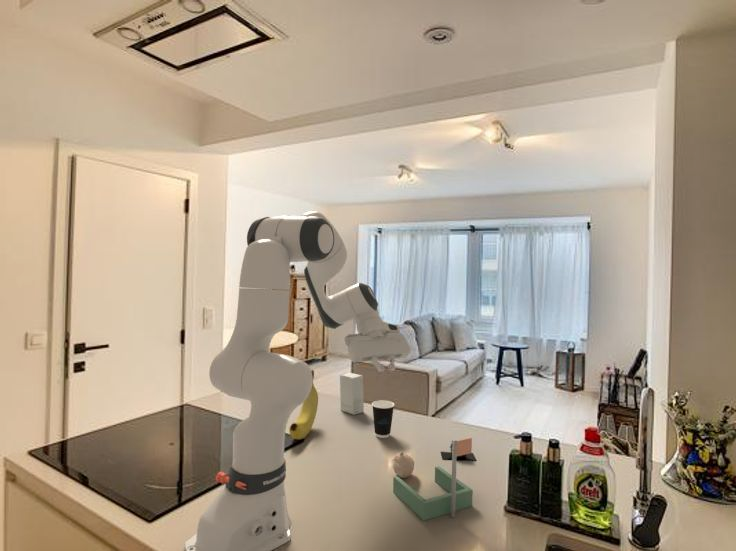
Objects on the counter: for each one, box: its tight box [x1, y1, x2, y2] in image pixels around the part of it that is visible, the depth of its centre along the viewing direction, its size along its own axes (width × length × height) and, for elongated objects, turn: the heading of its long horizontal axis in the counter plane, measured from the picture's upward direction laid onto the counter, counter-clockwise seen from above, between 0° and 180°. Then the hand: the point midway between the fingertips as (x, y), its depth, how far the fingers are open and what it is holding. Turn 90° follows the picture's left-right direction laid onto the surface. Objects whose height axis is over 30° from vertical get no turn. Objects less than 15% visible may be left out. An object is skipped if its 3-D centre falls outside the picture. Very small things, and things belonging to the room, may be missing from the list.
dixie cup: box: [371, 400, 395, 439], centre depth 149 cm, size 8×8×11 cm
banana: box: [289, 369, 319, 440], centre depth 148 cm, size 23×6×20 cm, turn 171°
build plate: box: [440, 440, 477, 462], centre depth 133 cm, size 13×8×5 cm, turn 87°
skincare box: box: [339, 372, 365, 416], centre depth 173 cm, size 8×6×15 cm
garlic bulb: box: [392, 451, 415, 479], centre depth 120 cm, size 7×6×8 cm
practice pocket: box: [392, 437, 474, 521], centre depth 107 cm, size 16×14×18 cm
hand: (387, 370), depth 129 cm, fingers closed
